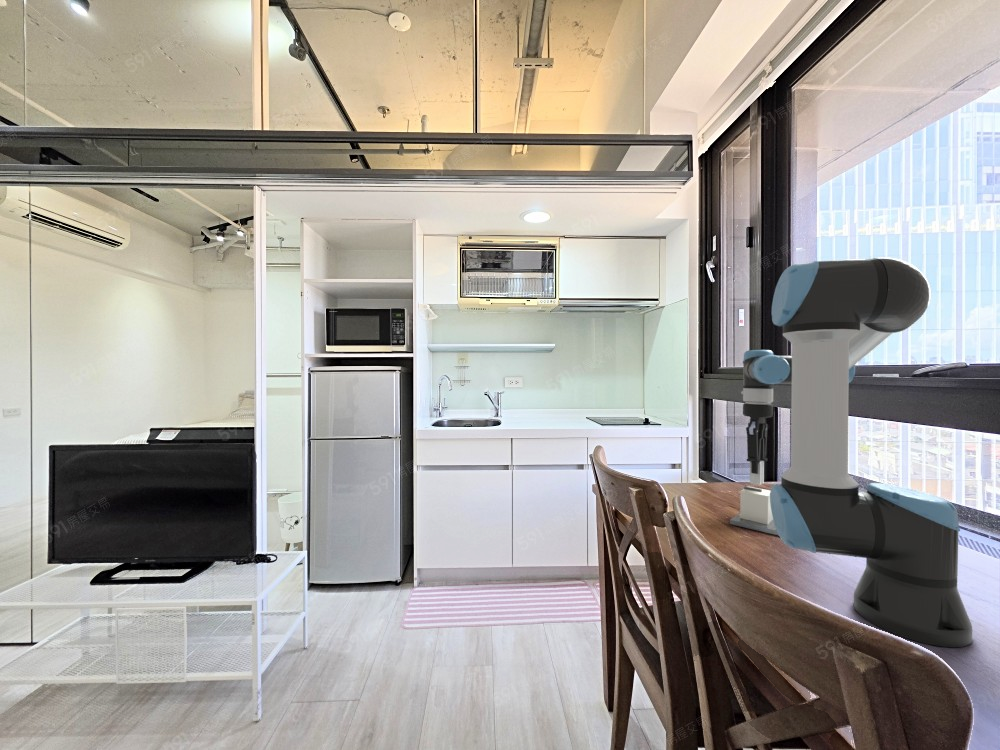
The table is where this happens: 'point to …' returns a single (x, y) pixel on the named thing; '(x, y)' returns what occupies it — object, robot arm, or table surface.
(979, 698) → the table surface
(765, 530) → the hub plate
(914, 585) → the robot arm
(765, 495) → the block
